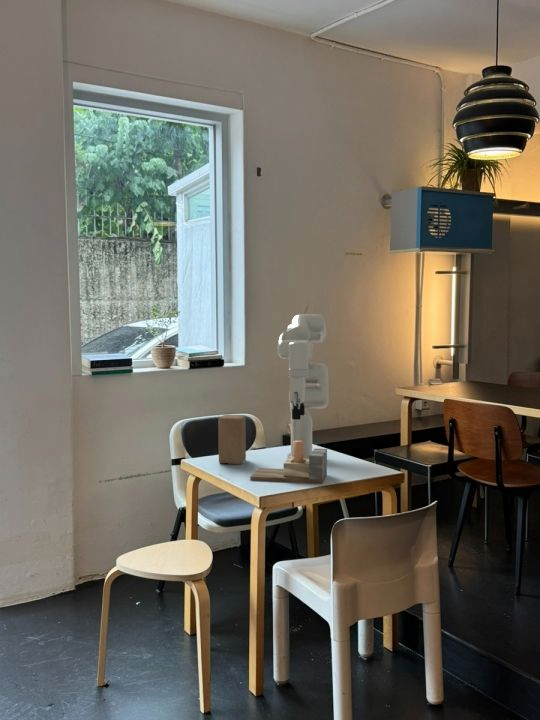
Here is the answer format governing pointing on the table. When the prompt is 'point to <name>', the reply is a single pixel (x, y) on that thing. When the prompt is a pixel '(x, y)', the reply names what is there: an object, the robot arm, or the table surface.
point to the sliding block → (296, 468)
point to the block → (232, 439)
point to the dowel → (298, 452)
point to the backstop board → (315, 476)
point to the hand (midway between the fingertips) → (298, 417)
